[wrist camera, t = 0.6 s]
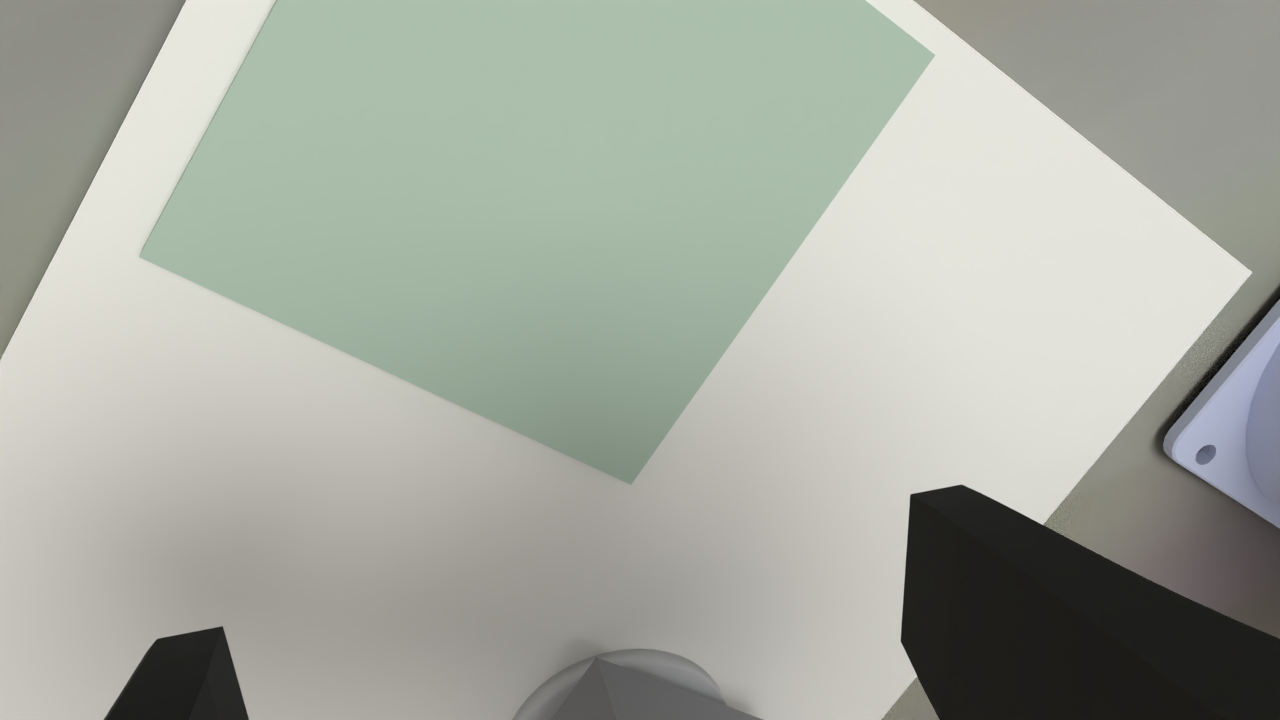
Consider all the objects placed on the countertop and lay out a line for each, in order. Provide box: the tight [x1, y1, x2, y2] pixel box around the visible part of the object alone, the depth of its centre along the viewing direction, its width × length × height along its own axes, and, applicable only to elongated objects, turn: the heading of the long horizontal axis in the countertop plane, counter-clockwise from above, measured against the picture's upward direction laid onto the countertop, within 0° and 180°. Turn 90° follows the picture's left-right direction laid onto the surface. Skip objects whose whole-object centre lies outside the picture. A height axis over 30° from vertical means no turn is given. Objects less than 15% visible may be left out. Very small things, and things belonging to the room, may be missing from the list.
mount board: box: [0, 0, 1252, 720], centre depth 19 cm, size 19×20×6 cm
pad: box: [139, 0, 935, 485], centre depth 18 cm, size 9×9×1 cm
